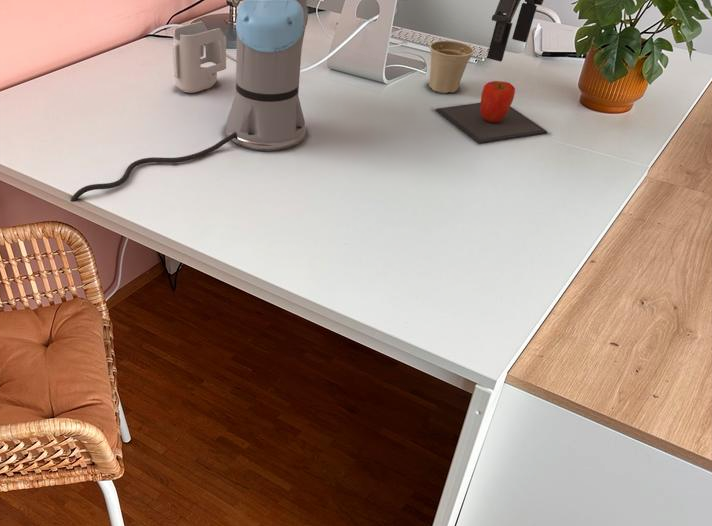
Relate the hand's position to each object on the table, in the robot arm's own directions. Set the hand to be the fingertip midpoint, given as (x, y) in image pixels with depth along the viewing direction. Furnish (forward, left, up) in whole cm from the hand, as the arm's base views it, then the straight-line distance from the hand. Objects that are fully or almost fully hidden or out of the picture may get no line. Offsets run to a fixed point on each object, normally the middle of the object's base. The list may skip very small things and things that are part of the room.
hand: (507, 49), depth 134 cm
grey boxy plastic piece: (-51, +34, -14) cm, 63 cm away
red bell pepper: (0, 0, -14) cm, 14 cm away
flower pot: (0, +18, -14) cm, 23 cm away
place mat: (0, 0, -14) cm, 14 cm away
